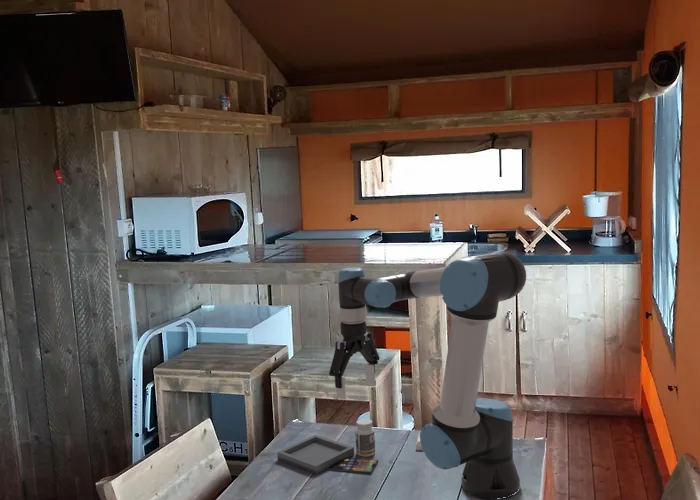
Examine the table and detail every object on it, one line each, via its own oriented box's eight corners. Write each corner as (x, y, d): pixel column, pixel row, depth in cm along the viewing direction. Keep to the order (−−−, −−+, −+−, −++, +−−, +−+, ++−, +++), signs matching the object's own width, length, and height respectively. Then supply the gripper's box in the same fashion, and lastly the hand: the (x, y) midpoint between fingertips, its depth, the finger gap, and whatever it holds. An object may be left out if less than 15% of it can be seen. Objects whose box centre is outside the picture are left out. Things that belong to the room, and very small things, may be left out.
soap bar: (416, 450, 208) (415, 442, 208) (418, 439, 217) (418, 430, 217) (432, 451, 207) (432, 443, 207) (434, 439, 216) (434, 431, 216)
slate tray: (354, 455, 206) (353, 447, 206) (316, 474, 194) (315, 466, 194) (315, 442, 217) (315, 434, 217) (277, 459, 205) (277, 452, 205)
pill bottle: (378, 451, 208) (377, 419, 207) (369, 459, 203) (367, 426, 202) (362, 448, 211) (361, 416, 210) (352, 455, 206) (351, 423, 205)
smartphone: (329, 459, 205) (328, 455, 205) (378, 463, 201) (378, 459, 201) (320, 471, 198) (320, 467, 197) (371, 475, 193) (371, 471, 193)
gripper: (369, 311, 213) (372, 378, 216) (314, 328, 195) (318, 401, 197) (389, 314, 209) (392, 382, 211) (334, 331, 190) (338, 406, 192)
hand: (356, 391), depth 204 cm, fingers open, 13 cm apart
